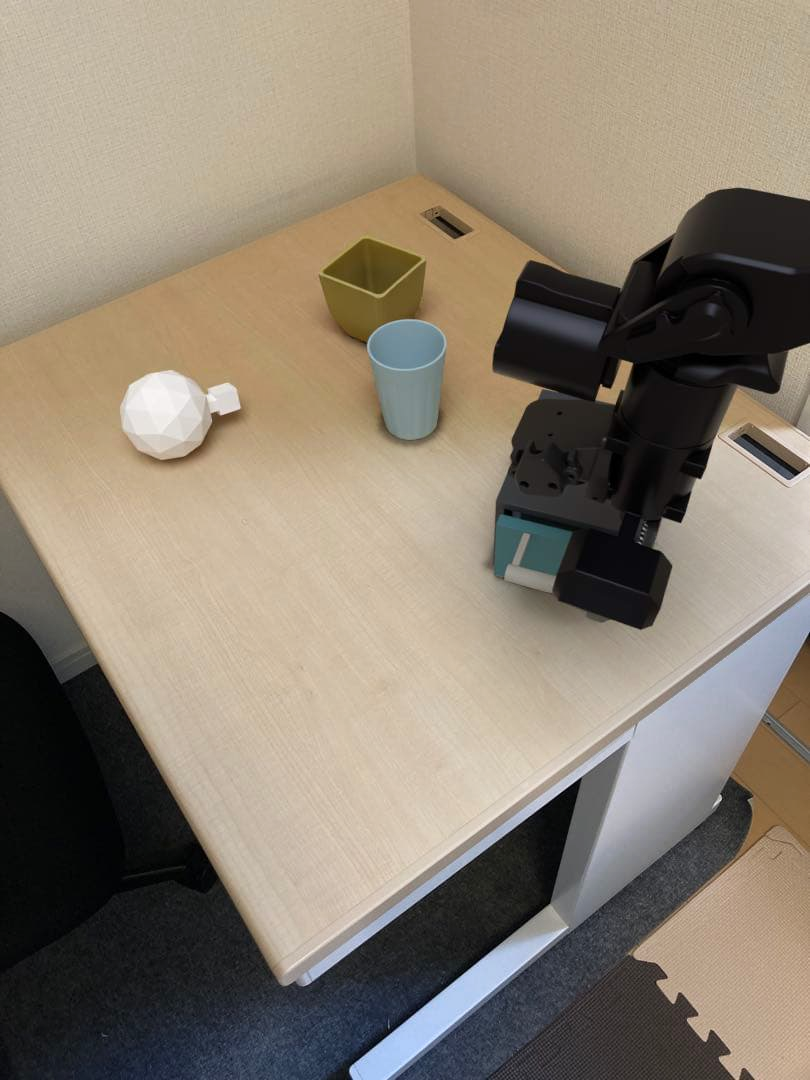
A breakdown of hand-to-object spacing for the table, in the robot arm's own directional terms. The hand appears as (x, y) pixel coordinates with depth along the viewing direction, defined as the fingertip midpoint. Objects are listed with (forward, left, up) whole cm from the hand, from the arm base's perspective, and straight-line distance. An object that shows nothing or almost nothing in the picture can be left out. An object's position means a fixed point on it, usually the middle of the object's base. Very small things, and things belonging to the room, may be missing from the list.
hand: (611, 568), depth 65 cm
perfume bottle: (+46, -13, -15) cm, 50 cm away
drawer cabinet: (+5, -15, -14) cm, 21 cm away
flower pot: (+34, -36, -15) cm, 52 cm away
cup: (+25, -23, -15) cm, 37 cm away
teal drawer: (+5, -11, -13) cm, 18 cm away
